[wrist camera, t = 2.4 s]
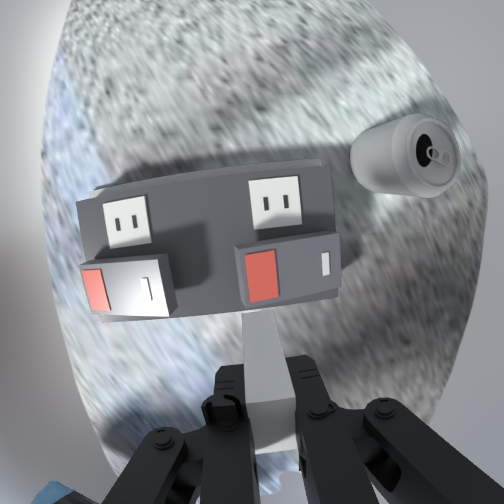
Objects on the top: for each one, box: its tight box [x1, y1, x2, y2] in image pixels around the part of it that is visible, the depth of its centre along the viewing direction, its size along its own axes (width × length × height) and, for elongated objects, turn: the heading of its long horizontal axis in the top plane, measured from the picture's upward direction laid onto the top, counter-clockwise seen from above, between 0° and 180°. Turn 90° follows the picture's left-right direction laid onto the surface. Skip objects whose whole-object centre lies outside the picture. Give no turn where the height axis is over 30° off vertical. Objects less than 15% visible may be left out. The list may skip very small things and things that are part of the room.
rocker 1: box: [79, 253, 178, 317], centre depth 25 cm, size 5×9×2 cm, turn 96°
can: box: [350, 113, 461, 198], centre depth 25 cm, size 8×8×12 cm
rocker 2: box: [234, 230, 341, 309], centre depth 25 cm, size 5×9×2 cm, turn 96°
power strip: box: [76, 158, 338, 322], centre depth 29 cm, size 15×26×5 cm, turn 96°
